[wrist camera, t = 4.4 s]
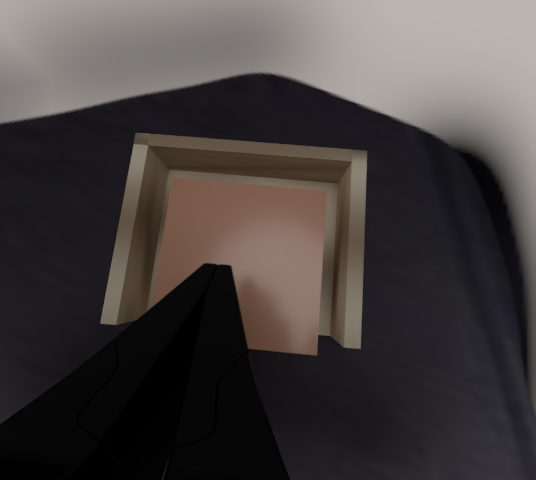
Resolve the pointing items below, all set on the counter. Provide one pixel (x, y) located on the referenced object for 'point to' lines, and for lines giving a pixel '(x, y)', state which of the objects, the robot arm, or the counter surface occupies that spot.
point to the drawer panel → (252, 254)
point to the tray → (247, 172)
